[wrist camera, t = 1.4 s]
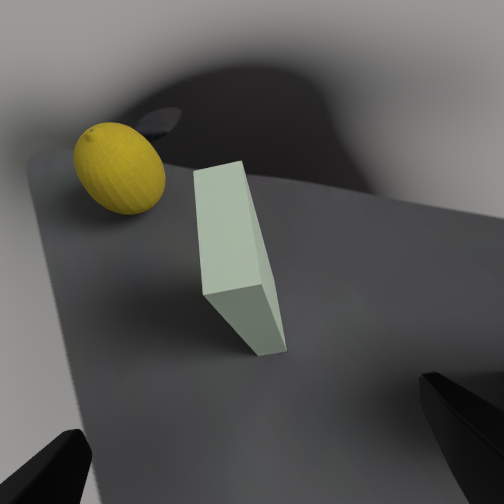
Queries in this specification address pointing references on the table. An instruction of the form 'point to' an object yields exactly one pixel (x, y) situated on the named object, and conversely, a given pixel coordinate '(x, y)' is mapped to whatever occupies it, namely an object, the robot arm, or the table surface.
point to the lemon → (119, 168)
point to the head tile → (236, 258)
